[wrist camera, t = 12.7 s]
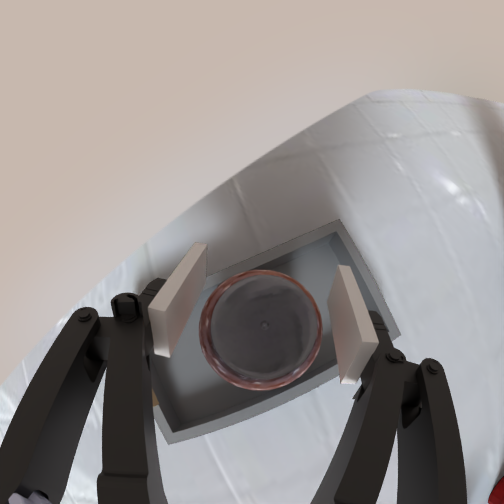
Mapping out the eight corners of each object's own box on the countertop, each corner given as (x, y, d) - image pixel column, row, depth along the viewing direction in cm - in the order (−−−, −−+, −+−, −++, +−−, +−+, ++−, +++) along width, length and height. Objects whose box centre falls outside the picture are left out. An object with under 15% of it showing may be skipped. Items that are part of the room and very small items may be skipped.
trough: (328, 236, 24) (344, 211, 20) (381, 337, 21) (409, 333, 16) (131, 321, 21) (105, 314, 17) (178, 432, 18) (162, 450, 14)
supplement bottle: (203, 320, 21) (155, 292, 10) (269, 283, 22) (288, 220, 11) (242, 386, 19) (234, 431, 8) (309, 347, 20) (370, 345, 9)
